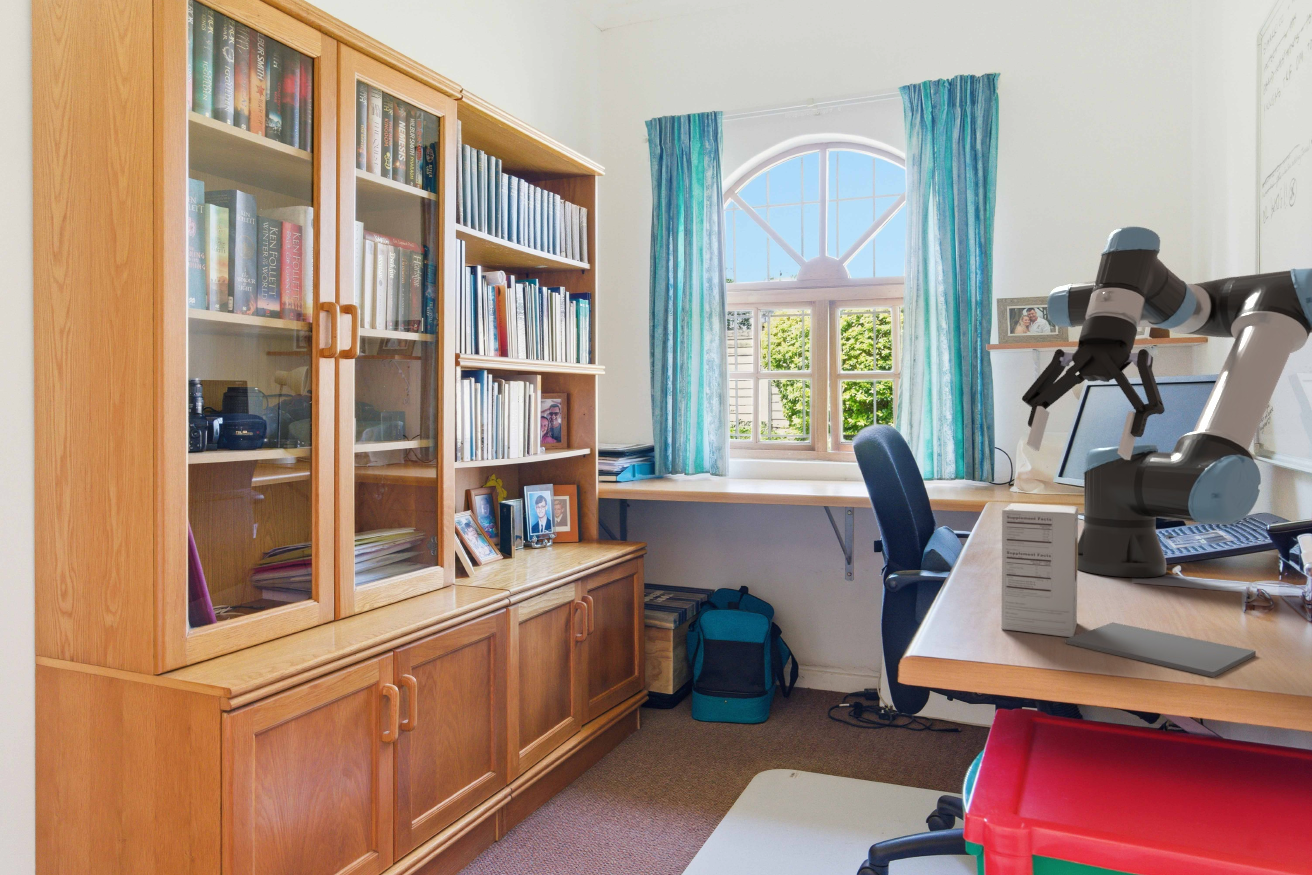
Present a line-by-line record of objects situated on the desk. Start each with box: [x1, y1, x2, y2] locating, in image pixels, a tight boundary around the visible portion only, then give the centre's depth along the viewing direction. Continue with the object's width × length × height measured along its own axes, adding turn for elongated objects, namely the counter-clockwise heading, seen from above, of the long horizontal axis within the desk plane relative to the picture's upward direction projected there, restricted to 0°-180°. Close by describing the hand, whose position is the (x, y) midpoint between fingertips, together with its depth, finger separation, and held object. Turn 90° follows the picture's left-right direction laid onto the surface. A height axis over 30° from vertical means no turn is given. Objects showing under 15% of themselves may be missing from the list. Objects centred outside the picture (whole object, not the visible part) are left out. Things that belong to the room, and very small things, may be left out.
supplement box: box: [1000, 502, 1079, 638], centre depth 117 cm, size 10×9×17 cm
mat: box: [1065, 622, 1256, 678], centre depth 106 cm, size 13×17×1 cm
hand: (1076, 452), depth 125 cm, fingers open, 13 cm apart
